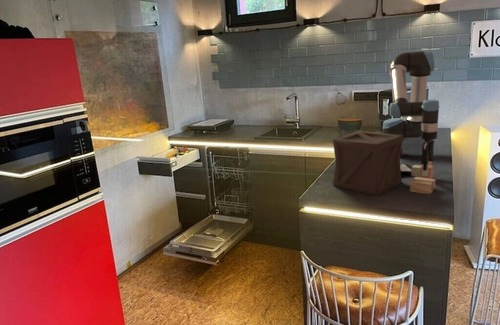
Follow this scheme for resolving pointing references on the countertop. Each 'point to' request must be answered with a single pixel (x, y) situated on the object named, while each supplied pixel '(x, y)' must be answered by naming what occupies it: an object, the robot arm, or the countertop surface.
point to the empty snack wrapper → (405, 168)
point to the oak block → (422, 185)
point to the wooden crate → (368, 162)
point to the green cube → (416, 170)
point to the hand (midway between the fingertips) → (426, 174)
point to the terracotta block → (430, 172)
